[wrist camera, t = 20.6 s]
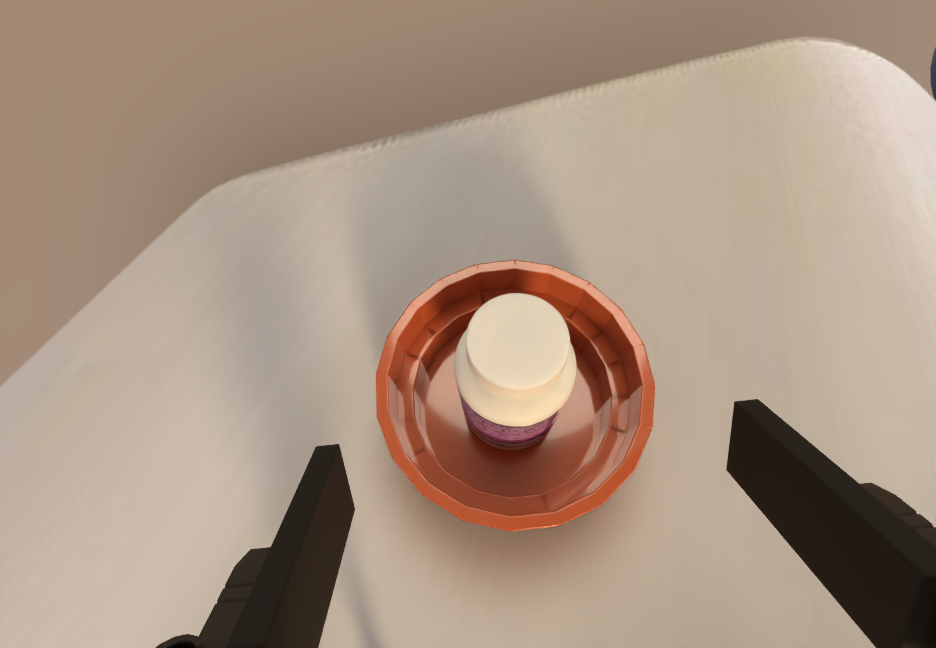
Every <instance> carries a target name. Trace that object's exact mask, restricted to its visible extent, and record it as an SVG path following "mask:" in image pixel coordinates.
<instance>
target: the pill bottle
mask: <svg viewBox="0 0 936 648" xmlns="http://www.w3.org/2000/svg"><path fill="white" fill-rule="evenodd" d="M454 373H455V379H456V383H457V387H458V391H459V395H460V398H461V403H462V407H463V411H464V415H465V418H466V420H467V423H468V425H469V426H470V428H471V429H472V431H473V432H474V433H475V434H476V435H477V436H478V437H479V438H480V439H481V440H482V441H484V442H486V443H487V444H489V445H491V446H493V447H496V448H499V449H504V450H518V449H523V448H526V447H529V446H531V445H533V444H535V443H537V442H538V441H540V440H541V439H542V438H543V437H544V436H545V435H546V434H547V433H548V431H549V430H550V429H551V427H552V425H553V424H554V422H555V420H556V419H557V417H558V416H559V414H560V412H561V410H562V408H563V406H564V404H565V403H566V401H567V399H568V397H569V395H570V393H571V391H572V388H573V386H574V382H575V378H576V357H575V352H574V349H573V346H572V344H571V342H570V335H569V331H568V328H567V325H566V323H565V321H564V319H563V317H562V316H561V314H560V313H559V312H558V311H557V310H556V309H555V308H554V307H553V306H552V305H551V304H549V303H548V302H546V301H545V300H543V299H541V298H539V297H536V296H533V295H529V294H522V293H509V294H504V295H500V296H498V297H495V298H493V299H491V300H489V301H488V302H486V303H485V304H483V305H482V306H481V307H480V308H479V309H478V310H477V311H476V313H475V314H474V315H473V317H472V319H471V321H470V323H469V325H468V328H467V330H466V331H465V332H464V334H463V335H462V337H461V339H460V341H459V343H458V346H457V349H456V353H455V359H454Z"/></svg>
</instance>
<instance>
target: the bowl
mask: <svg viewBox="0 0 936 648" xmlns="http://www.w3.org/2000/svg"><path fill="white" fill-rule="evenodd" d="M509 293H522V294H529V295H533V296H536V297H539V298H541V299H543V300H545V301H546V302H548V303H549V304H551V305H552V306H553V307H554V308H555V309H556V310H557V311H558V312H559V313H560V314H561V316H562V317H563V319H564V321H565V323H566V325H567V328H568V331H569V335H570V342H571V344H572V346H573V349H574V352H575V357H576V378H575V382H574V386H573V388H572V391H571V393H570V395H569V397H568V399H567V401H566V403H565V404H564V406H563V408H562V410H561V412H560V414H559V416H558V417H557V419H556V420H555V422H554V424H553V425H552V427H551V429H550V430H549V431H548V433H547V434H546V435H545V436H544V437H543V438H542V439H541V440H540V441H538V442H537V443H535V444H533V445H531V446H529V447H526V448H523V449H518V450H504V449H499V448H496V447H493V446H491V445H489V444H487V443H486V442H484V441H482V440H481V439H480V438H479V437H478V436H477V435H476V434H475V433H474V432H473V431H472V429H471V428H470V426H469V425H468V423H467V420H466V418H465V415H464V411H463V407H462V403H461V398H460V395H459V391H458V387H457V383H456V379H455V373H454V359H455V353H456V349H457V346H458V343H459V341H460V339H461V337H462V335H463V334H464V332H465V331H466V330H467V328H468V325H469V323H470V321H471V319H472V317H473V315H474V314H475V313H476V311H477V310H478V309H479V308H480V307H481V306H482V305H483V304H485V303H486V302H488V301H489V300H491V299H493V298H495V297H498V296H500V295H504V294H509ZM654 396H655V383H654V379H653V376H652V372H651V368H650V365H649V361H648V357H647V354H646V350H645V347H644V344H643V342H642V340H641V338H640V337H639V335H638V334H637V332H636V331H635V329H634V328H633V326H632V325H631V323H630V322H629V320H628V318H627V317H626V315H625V314H624V312H623V311H622V309H620V308H619V307H618V306H617V305H616V304H615V303H614V302H612V301H611V300H610V299H609V298H608V297H607V296H605V295H604V294H603V293H602V292H601V291H599V290H598V289H597V288H596V287H595V286H594V285H592V284H591V283H589V282H588V281H586V280H584V279H581V278H579V277H577V276H575V275H573V274H570V273H568V272H566V271H564V270H562V269H559V268H557V267H555V266H554V267H553V266H551V265H545V264H538V263H532V262H526V261H519V260H509V261H500V262H491V263H483V264H477V265H473V266H471V267H468V268H466V269H463V270H461V271H459V272H456V273H454V274H451V275H449V276H446V277H444V278H442V279H440V280H438V281H437V282H436V283H435V284H433V285H432V286H431V287H430V288H428V289H427V290H426V291H424V292H423V293H422V294H421V295H419V296H418V297H417V298H416V299H414V300H413V301H412V302H411V304H409V305H408V307H407V308H406V310H405V311H404V313H403V314H402V316H401V317H400V319H399V320H398V321H397V323H396V324H395V326H394V327H393V329H392V330H391V332H390V333H389V335H388V336H387V339H386V343H385V346H384V349H383V353H382V356H381V359H380V362H379V366H378V369H377V372H376V401H377V418H378V421H379V424H380V427H381V429H382V432H383V435H384V438H385V440H386V443H387V446H388V449H389V452H390V454H391V457H392V458H393V460H394V461H395V463H396V464H397V465H398V466H399V468H400V469H401V470H402V471H403V473H404V474H405V475H406V476H407V478H408V479H409V480H410V481H411V483H412V484H413V485H414V486H415V488H416V489H417V490H418V491H419V493H421V494H422V495H423V496H424V497H426V498H428V499H429V500H431V501H432V502H434V503H435V504H437V505H439V506H440V507H442V508H443V509H445V510H446V511H448V512H450V513H451V514H453V515H454V516H456V517H457V518H459V519H461V520H463V521H467V522H471V523H475V524H480V525H484V526H488V527H492V528H497V529H501V530H505V531H519V530H528V529H537V528H546V527H555V526H558V525H562V524H564V523H566V522H568V521H570V520H572V519H574V518H576V517H578V516H580V515H582V514H584V513H586V512H588V511H590V510H593V509H595V508H597V507H599V506H601V505H602V504H603V503H604V502H605V501H606V500H607V499H608V498H609V497H610V496H611V495H612V494H613V493H614V492H615V491H616V490H617V489H618V488H619V487H620V485H621V484H622V483H623V482H624V481H625V480H626V479H627V478H628V477H629V476H630V475H631V474H632V473H633V472H634V470H635V469H636V466H637V464H638V461H639V459H640V457H641V454H642V452H643V450H644V447H645V445H646V443H647V440H648V438H649V436H650V433H651V431H652V428H653V412H654Z"/></svg>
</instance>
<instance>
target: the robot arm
mask: <svg viewBox="0 0 936 648" xmlns="http://www.w3.org/2000/svg"><path fill="white" fill-rule="evenodd" d="M727 471H728V472H729V473H730V475H731V476H732V477H733V478H734V479H735V481H736V482H737V483H738V484H739V485H740V487H741V488H742V489H743V490H744V491H745V492H746V494H747V495H748V496H749V497H750V498H751V500H752V501H753V502H754V503H755V504H756V506H757V507H758V508H759V509H760V510H761V511H762V513H763V514H764V515H765V516H766V517H767V519H768V520H769V521H770V522H771V523H772V525H773V526H774V527H775V528H776V529H777V530H778V532H779V533H780V534H781V535H782V536H783V538H784V539H785V540H786V541H787V542H788V543H789V545H790V546H791V547H792V548H793V549H794V551H795V552H796V553H797V554H798V555H799V557H800V558H801V559H802V560H803V561H804V562H805V564H806V565H807V566H808V567H809V568H810V570H811V571H812V572H813V573H814V574H815V576H816V577H817V578H818V579H819V580H820V581H821V583H822V584H823V585H824V586H825V587H826V589H827V590H828V591H829V592H830V593H831V595H832V596H833V597H834V598H835V599H836V600H837V602H838V603H839V604H840V605H841V606H842V608H843V609H844V610H845V611H846V612H847V614H848V615H849V616H850V617H851V618H852V619H853V621H854V622H855V623H856V624H857V625H858V627H859V628H860V629H861V630H862V631H863V633H864V634H865V635H866V636H867V637H868V638H869V640H870V641H871V642H872V643H873V644H874V646H875V647H876V648H936V527H935V528H934V527H933V526H932V523H930V522H929V521H928V520H926V519H925V518H924V517H923V516H921V515H920V514H917V513H916V511H915V510H914V509H913V508H911V507H910V506H909V505H908V504H906V503H905V502H904V501H902V500H901V499H900V498H899V497H897V496H896V495H894V494H892V493H890V492H888V491H886V490H884V489H883V488H881V487H879V486H877V485H875V484H873V483H864V484H859V483H858V482H856V481H855V480H854V479H853V478H852V477H850V476H849V475H848V474H847V473H846V472H844V471H843V470H842V469H841V468H840V467H838V466H837V465H836V464H835V463H834V462H832V461H831V460H830V459H829V458H828V457H826V456H825V455H824V454H823V453H822V452H820V451H819V450H818V449H817V448H816V447H814V446H813V445H812V444H811V443H810V442H808V441H807V440H806V439H805V438H804V437H802V436H801V435H800V434H799V433H798V432H796V431H795V430H794V429H793V428H792V427H790V426H789V425H788V424H787V423H786V422H784V421H783V420H782V419H781V418H780V417H779V416H777V415H776V414H775V413H774V412H773V411H771V410H770V409H769V408H768V407H767V406H765V405H764V404H763V403H762V402H761V401H759V400H758V399H755V400H746V401H737V402H734V411H733V419H732V427H731V436H730V444H729V453H728V461H727ZM354 511H355V508H354V503H353V499H352V495H351V491H350V487H349V483H348V479H347V475H346V471H345V467H344V462H343V458H342V454H341V450H340V446H339V444H335V445H326V446H316V448H315V450H314V452H313V455H312V457H311V459H310V461H309V463H308V466H307V468H306V470H305V472H304V475H303V477H302V479H301V481H300V483H299V486H298V488H297V490H296V492H295V495H294V497H293V499H292V501H291V503H290V506H289V508H288V510H287V512H286V515H285V517H284V519H283V521H282V524H281V526H280V528H279V530H278V532H277V535H276V537H275V539H274V541H273V544H272V546H271V547H269V548H259V549H251V550H250V551H249V552H248V553H247V554H246V555H245V556H244V557H243V558H242V559H241V560H240V561H239V562H238V563H237V564H236V566H235V567H234V569H233V571H232V573H231V575H230V577H229V579H228V581H227V582H226V584H225V588H224V589H223V590H222V592H221V594H220V596H219V598H218V600H217V601H218V602H217V604H215V606H214V608H213V610H212V612H211V614H210V616H209V617H208V619H207V621H206V623H205V625H204V627H203V629H202V631H201V633H200V635H199V637H198V636H194V635H189V634H186V635H181V636H176V637H173V638H171V639H169V640H167V641H165V642H163V643H161V644H160V645H158V646H157V647H156V648H318V646H319V643H320V639H321V635H322V631H323V627H324V624H325V620H326V616H327V612H328V609H329V605H330V601H331V597H332V594H333V590H334V586H335V582H336V579H337V575H338V571H339V567H340V564H341V560H342V556H343V552H344V548H345V545H346V541H347V537H348V533H349V530H350V526H351V522H352V518H353V515H354Z"/></svg>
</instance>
